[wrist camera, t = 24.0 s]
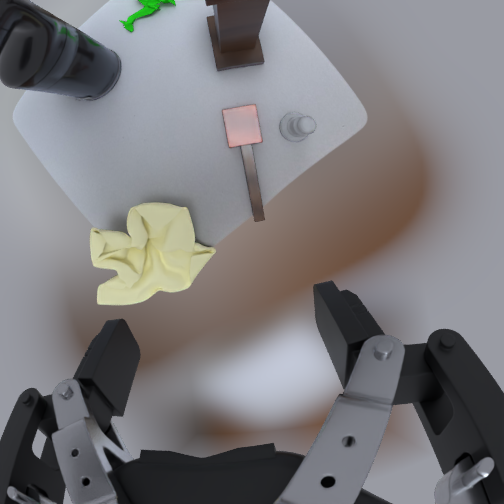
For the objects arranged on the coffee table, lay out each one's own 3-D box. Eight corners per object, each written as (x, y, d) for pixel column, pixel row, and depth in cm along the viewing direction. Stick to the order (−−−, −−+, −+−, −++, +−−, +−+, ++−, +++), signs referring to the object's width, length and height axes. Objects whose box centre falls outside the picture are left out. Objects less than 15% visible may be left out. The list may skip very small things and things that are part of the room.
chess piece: (308, 143, 39) (325, 144, 32) (278, 140, 39) (290, 140, 31) (309, 114, 37) (327, 109, 30) (280, 111, 37) (291, 105, 30)
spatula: (274, 216, 44) (275, 218, 42) (243, 222, 44) (244, 224, 42) (255, 104, 36) (255, 103, 35) (222, 110, 36) (221, 109, 35)
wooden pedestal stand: (263, 64, 34) (301, -10, 12) (217, 71, 34) (205, -2, 12) (251, 13, 30) (273, -78, 8) (207, 20, 30) (190, -71, 8)
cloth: (225, 271, 47) (214, 250, 51) (187, 180, 34) (179, 165, 38) (116, 322, 44) (114, 298, 48) (52, 252, 31) (58, 229, 35)
